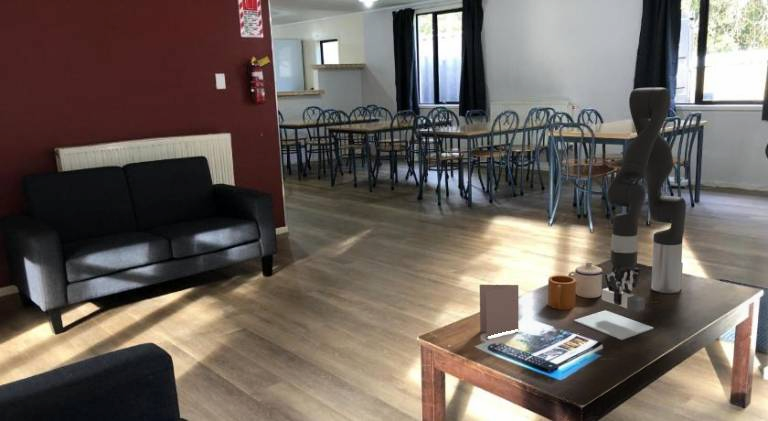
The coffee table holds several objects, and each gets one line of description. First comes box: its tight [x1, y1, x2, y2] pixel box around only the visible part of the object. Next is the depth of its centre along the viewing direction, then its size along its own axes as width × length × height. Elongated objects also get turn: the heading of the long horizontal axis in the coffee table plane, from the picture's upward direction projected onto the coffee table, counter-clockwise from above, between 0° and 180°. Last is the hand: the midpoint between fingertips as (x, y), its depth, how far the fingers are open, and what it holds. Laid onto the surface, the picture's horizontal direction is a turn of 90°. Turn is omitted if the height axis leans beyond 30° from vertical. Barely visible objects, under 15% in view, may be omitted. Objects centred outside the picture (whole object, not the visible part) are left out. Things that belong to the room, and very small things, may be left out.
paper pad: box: [573, 310, 654, 341], centre depth 194 cm, size 14×18×1 cm
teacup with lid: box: [567, 261, 603, 299], centre depth 221 cm, size 12×9×12 cm
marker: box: [601, 287, 646, 312], centre depth 194 cm, size 14×3×3 cm, turn 30°
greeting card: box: [479, 284, 519, 338], centre depth 188 cm, size 11×7×15 cm, turn 80°
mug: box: [547, 274, 577, 310], centre depth 210 cm, size 9×12×9 cm
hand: (622, 302), depth 194 cm, fingers closed on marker, 3 cm apart
